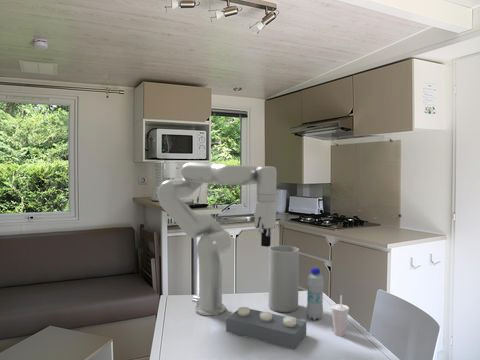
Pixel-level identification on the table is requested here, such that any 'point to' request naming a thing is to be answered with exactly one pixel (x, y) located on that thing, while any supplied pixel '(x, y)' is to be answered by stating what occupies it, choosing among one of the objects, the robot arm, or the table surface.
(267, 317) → the knob middle
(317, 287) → the bottle
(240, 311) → the knob
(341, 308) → the smoothie
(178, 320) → the table surface
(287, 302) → the cylinder vase
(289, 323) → the knob
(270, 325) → the control panel
